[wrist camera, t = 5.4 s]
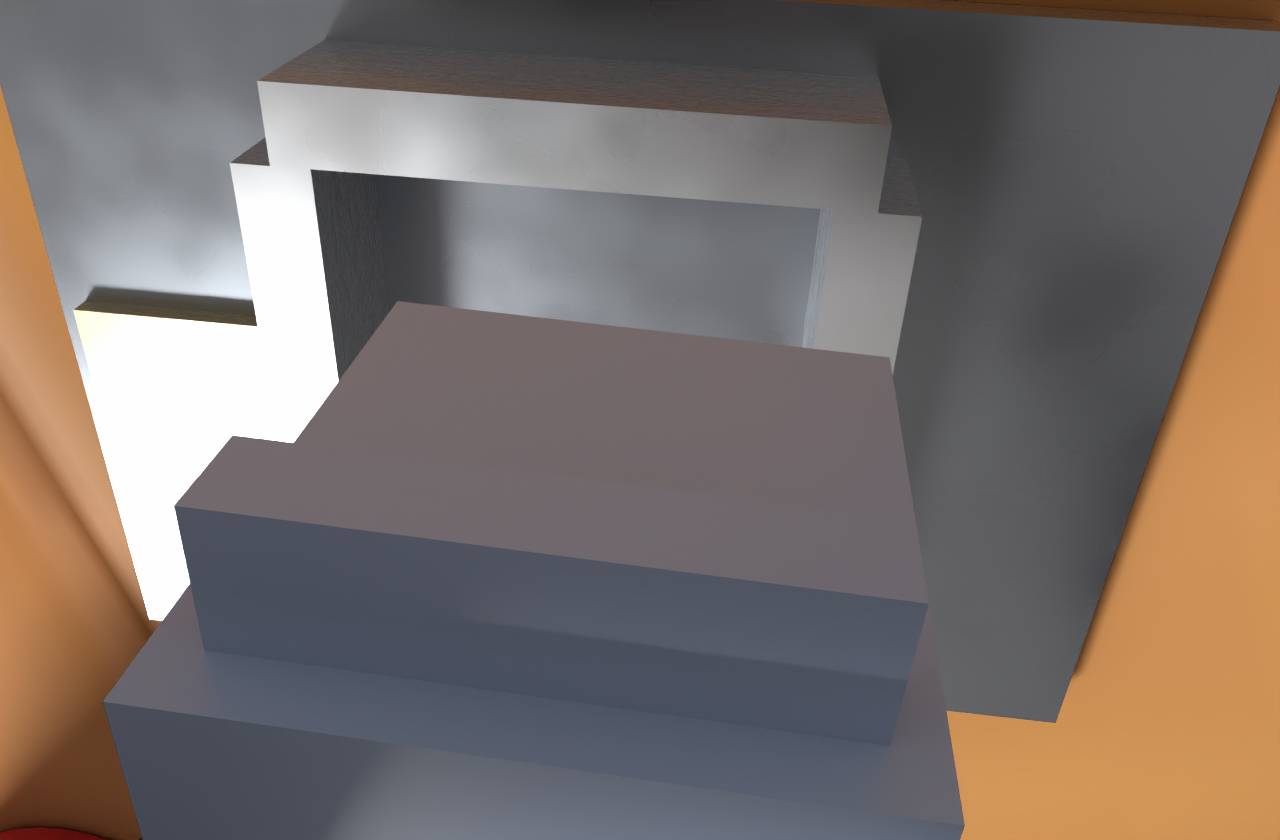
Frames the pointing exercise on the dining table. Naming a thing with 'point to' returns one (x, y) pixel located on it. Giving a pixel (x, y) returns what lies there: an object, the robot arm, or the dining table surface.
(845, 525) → the block
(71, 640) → the dining table surface
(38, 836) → the canned food
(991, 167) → the chassis
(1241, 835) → the dining table surface
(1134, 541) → the dining table surface
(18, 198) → the dining table surface
